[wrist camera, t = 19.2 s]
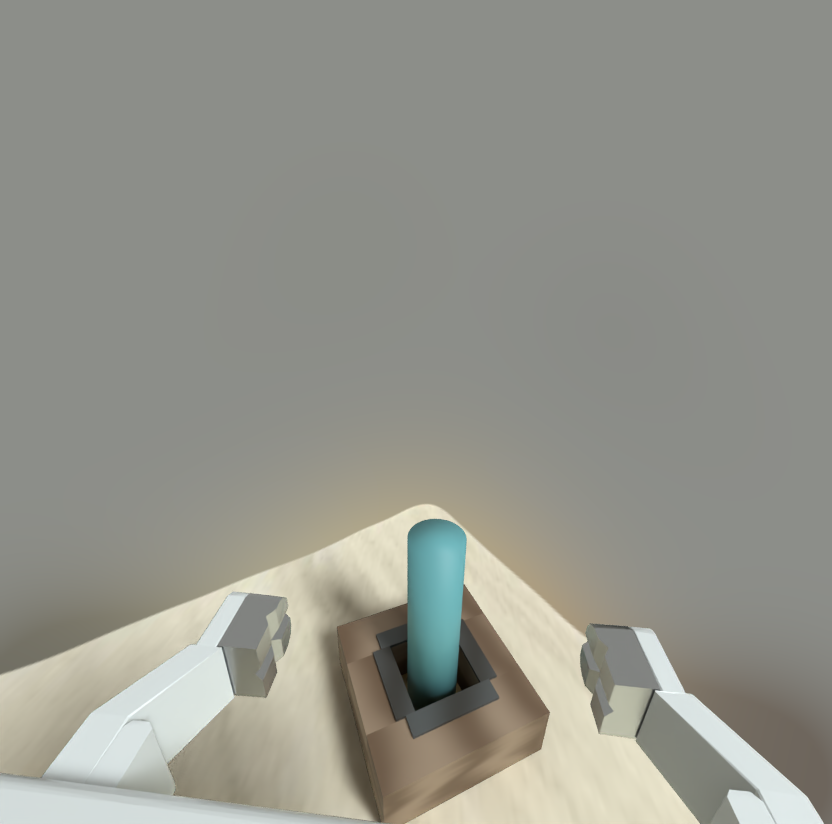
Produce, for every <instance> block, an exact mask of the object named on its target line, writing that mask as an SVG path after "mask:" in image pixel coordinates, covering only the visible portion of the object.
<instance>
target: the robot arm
mask: <svg viewBox="0 0 832 824" xmlns="http://www.w3.org/2000/svg"><path fill="white" fill-rule="evenodd" d="M287 609H288V602H287V598H285V597H278V596H269V595H261V594H252V593H242V592H232V593H231V594H229V595H228V596H227V597H226V599H225V601H224V602H223V604H222V605H221V607H220V608H219V610H218V611H217V613H216V614H215V616H214V618H213V619H212V621H211V622H210V624H209V625H208V627H207V628H206V630H205V632H204V633H203V635H202V636H201V638H200V639H199V641H198V642H197V644H196V645H195V644H190V645H189V646H188V647H186V648H185V649H183V650H182V651H180V652H179V653H177V654H176V655H174V656H173V657H172V658H170V659H169V660H167V661H166V662H164V663H163V664H161V665H160V666H158V667H157V668H156V669H154V670H153V671H151V672H150V673H148V674H147V675H145V676H144V677H142V678H141V679H140V680H138V681H137V682H135V683H134V684H132V685H131V686H129V687H128V688H126V689H125V690H124V691H122V692H121V693H119V694H118V695H116V696H115V697H113V698H112V699H110V700H109V701H108V702H106V703H105V704H103V705H102V706H100V707H99V708H97V709H96V710H94V711H93V712H92V713H90V715H89V716H88V717H87V719H86V720H85V721H84V723H83V724H82V725H81V726H80V728H79V729H78V730H77V732H76V733H75V734H74V735H73V737H72V738H71V739H70V741H69V742H68V743H67V745H66V746H65V747H64V748H63V750H62V751H61V752H60V754H59V755H58V756H57V757H56V759H55V760H54V761H53V763H52V764H51V765H50V766H49V768H48V769H47V770H46V772H45V773H44V774H43V776H42V777H41V778H37V777H29V776H21V775H14V774H6V773H0V824H389V823H382V822H374V821H366V820H359V819H351V818H344V817H336V816H328V815H321V814H313V813H305V812H298V811H290V810H282V809H274V808H267V807H259V806H251V805H244V804H236V803H228V802H221V801H213V800H205V799H198V798H190V797H182V796H175V795H173V794H174V792H175V790H176V787H175V782H174V779H173V777H172V774H171V772H170V770H169V767H168V765H167V763H168V762H169V761H170V760H171V759H172V758H174V757H175V756H176V755H177V754H178V753H179V752H180V751H181V750H182V749H183V748H184V747H185V746H186V745H187V744H188V743H189V742H190V741H191V740H192V739H193V738H194V737H195V736H196V735H197V734H198V733H199V732H200V731H201V730H202V729H203V728H204V727H205V726H206V725H207V724H208V723H209V722H210V721H211V720H212V719H213V718H214V717H215V716H216V715H217V714H218V713H219V712H220V711H221V710H222V709H223V708H224V707H225V706H226V705H227V704H228V703H229V702H230V701H231V700H232V699H233V698H234V695H238V696H251V697H264V698H266V697H267V695H268V693H269V690H270V688H271V685H272V683H273V681H274V678H275V676H276V673H277V669H276V662H277V661H278V660H279V659H280V658H282V657H283V656H284V654H285V651H286V649H287V646H288V643H289V638H290V634H291V620H290V618H289V617H288V615H287V614H286V611H287ZM585 634H586V637H587V640H588V641H587V642H586V643H585V644H583V645H582V649H581V654H580V664H581V672H582V677H583V680H584V684H585V686H586V687H587V688H588V690H589V691H590V692H591V693H592V694H593V697H592V700H591V704H590V705H591V708H592V712H593V715H594V718H595V722H596V725H597V729H598V732H599V734H604V735H611V736H618V737H625V738H632V739H636V742H637V744H638V745H639V746H640V747H641V749H642V750H643V751H644V752H645V754H646V755H647V756H648V758H649V759H650V760H651V761H652V763H653V764H654V765H655V766H656V768H657V769H658V770H659V772H660V773H661V774H662V775H663V777H664V778H665V779H666V780H667V782H668V783H669V784H670V786H671V787H672V788H673V789H674V791H675V792H676V793H677V795H678V796H679V797H680V798H681V800H682V801H683V802H684V803H685V805H686V806H687V807H688V809H689V810H690V811H691V812H692V814H693V815H694V816H695V817H696V819H697V820H698V821H699V823H700V824H824V823H823V821H822V820H821V818H820V817H819V815H818V813H817V812H816V810H815V809H814V807H813V805H812V804H811V802H810V801H809V799H808V798H807V796H806V795H804V794H803V793H802V792H801V791H800V790H799V789H798V788H797V787H795V786H794V785H793V784H792V783H791V782H790V781H789V780H788V779H786V778H785V777H784V776H783V775H782V774H781V773H780V772H779V771H777V770H776V769H775V768H774V767H773V766H772V765H771V764H770V763H769V762H767V761H766V760H765V759H764V758H763V757H762V756H761V755H760V754H759V753H757V752H756V751H755V750H754V749H753V748H752V747H751V746H750V745H748V744H747V743H746V742H745V741H744V740H743V739H742V738H741V737H739V736H738V735H737V734H736V733H735V732H734V731H733V730H732V729H731V728H729V727H728V726H727V725H726V724H725V723H724V722H723V721H721V720H720V719H719V718H718V717H717V716H716V715H715V714H714V713H713V712H711V711H710V710H709V709H708V708H707V707H706V706H705V705H704V704H703V703H701V702H700V701H699V700H698V699H697V698H696V697H695V696H694V695H692V694H687V693H685V691H684V689H683V687H682V685H681V683H680V682H679V679H678V678H677V676H676V674H675V672H674V670H673V668H672V666H671V664H670V662H669V660H668V658H667V656H666V654H665V652H664V650H663V648H662V646H661V644H660V642H659V640H658V638H657V636H656V635H655V633H654V632H653V631H652V630H651V629H648V628H636V627H628V626H617V625H603V624H589V625H588V627H587V629H586V633H585Z"/></svg>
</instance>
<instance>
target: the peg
mask: <svg viewBox="0 0 832 824" xmlns="http://www.w3.org/2000/svg"><path fill="white" fill-rule="evenodd" d="M465 555H466V535H465V533H464V531H463V530H462V529H461V528H460V527H459V526H458V525H456V524H454V523H452V522H450V521H447V520H442V519H429V520H424V521H421V522H419V523H417V524H415V525H414V526H413V527H412V528H411V529H410V531H409V533H408V657H407V692H408V694H409V697H410V699H411V702H412V705H413V707H414V710H415V711H417V710H419V709H421V708H424V707H426V706H428V705H430V704H433V703H435V702H437V701H439V700H442V699H444V698H446V697H448V696H451V695H453V694H455V693H456V683H457V668H458V654H459V640H460V626H461V612H462V597H463V583H464V569H465Z"/></svg>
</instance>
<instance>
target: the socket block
mask: <svg viewBox="0 0 832 824" xmlns="http://www.w3.org/2000/svg"><path fill="white" fill-rule="evenodd" d="M337 633H338V644H339V656H340V663H341V667H342V671H343V675H344V679H345V683H346V687H347V691H348V695H349V699H350V703H351V706H352V710H353V714H354V718H355V722H356V726H357V730H358V734H359V738H360V742H361V746H362V749H363V753H364V757H365V761H366V765H367V769H368V773H369V777H370V781H371V785H372V789H373V792H374V796H375V800H376V804H377V808H378V812H379V816H380V820H381V822H382V823H389V824H405V823H407V822H409V821H410V820H412V819H414V818H416V817H418V816H420V815H421V814H423V813H425V812H427V811H429V810H431V809H432V808H434V807H436V806H438V805H440V804H442V803H443V802H445V801H447V800H449V799H451V798H452V797H454V796H456V795H458V794H460V793H462V792H463V791H465V790H467V789H469V788H471V787H473V786H474V785H476V784H478V783H480V782H482V781H484V780H485V779H487V778H489V777H491V776H493V775H495V774H496V773H498V772H500V771H502V770H504V769H505V768H507V767H509V766H511V765H513V764H515V763H516V762H518V761H520V760H522V759H524V758H526V757H527V756H529V755H531V754H533V753H535V752H537V751H538V750H540V749H541V747H542V743H543V739H544V735H545V730H546V726H547V722H548V718H549V713H550V712H549V710H548V709H547V707H546V706H545V704H544V703H543V701H542V700H541V698H540V697H539V695H538V694H537V692H536V691H535V689H534V688H533V686H532V685H531V683H530V682H529V680H528V679H527V677H526V676H525V674H524V673H523V671H522V670H521V668H520V667H519V665H518V664H517V663H516V661H515V660H514V658H513V657H512V655H511V654H510V652H509V651H508V649H507V648H506V646H505V645H504V643H503V642H502V640H501V639H500V637H499V636H498V634H497V633H496V631H495V630H494V628H493V627H492V625H491V624H490V622H489V621H488V619H487V618H486V616H485V615H484V613H483V612H482V610H481V609H480V607H479V606H478V604H477V603H476V601H475V600H474V598H473V597H472V595H471V594H470V592H469V591H468V589H467V588H466V586H465V585H464V584H463V597H462V612H461V626H460V640H459V654H458V668H457V683H458V685H459V687H460V688H461V690H462V691H460V692H457V693H455V694H453V695H451V696H448V697H446V698H444V699H442V700H439V701H437V702H435V703H433V704H430V705H428V706H426V707H424V708H421V709H419V710H417V711H415V710H414V707H413V705H412V702H411V699H410V697H409V694H408V692H407V689H406V687H405V684H404V681H403V679H402V676H401V675H404V674H406V673H407V657H408V603H407V604H404V605H401V606H398V607H395V608H392V609H389V610H386V611H383V612H380V613H377V614H374V615H371V616H368V617H365V618H362V619H359V620H356V621H353V622H350V623H347V624H344V625H341V626H338V627H337Z"/></svg>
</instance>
